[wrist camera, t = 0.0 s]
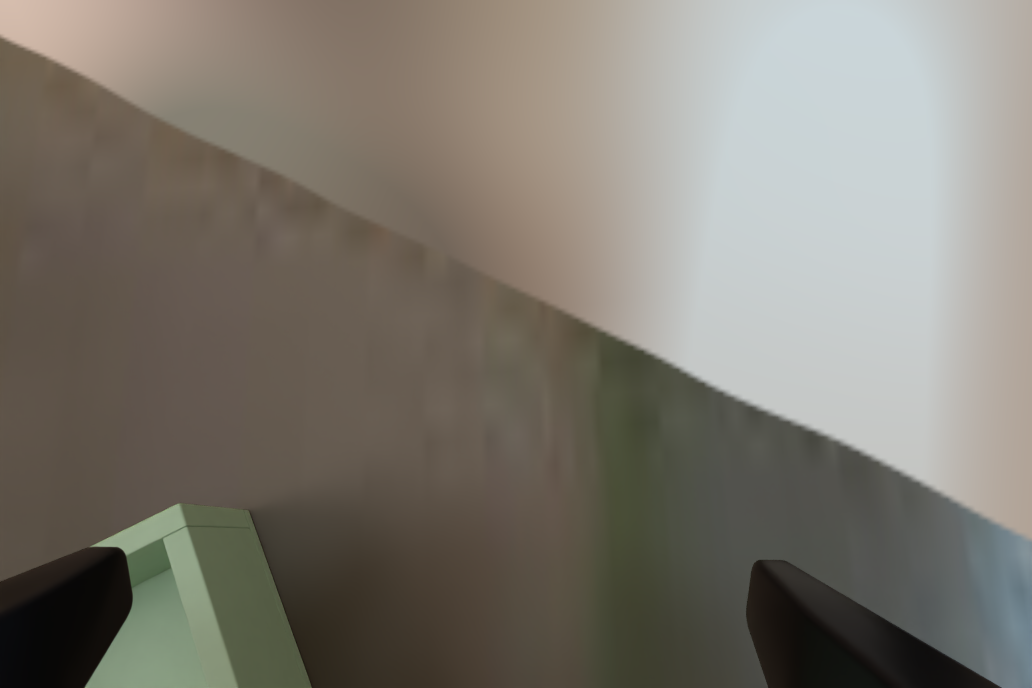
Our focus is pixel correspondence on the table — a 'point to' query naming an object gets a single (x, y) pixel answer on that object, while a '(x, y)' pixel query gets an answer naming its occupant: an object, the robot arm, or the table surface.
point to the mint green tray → (200, 607)
